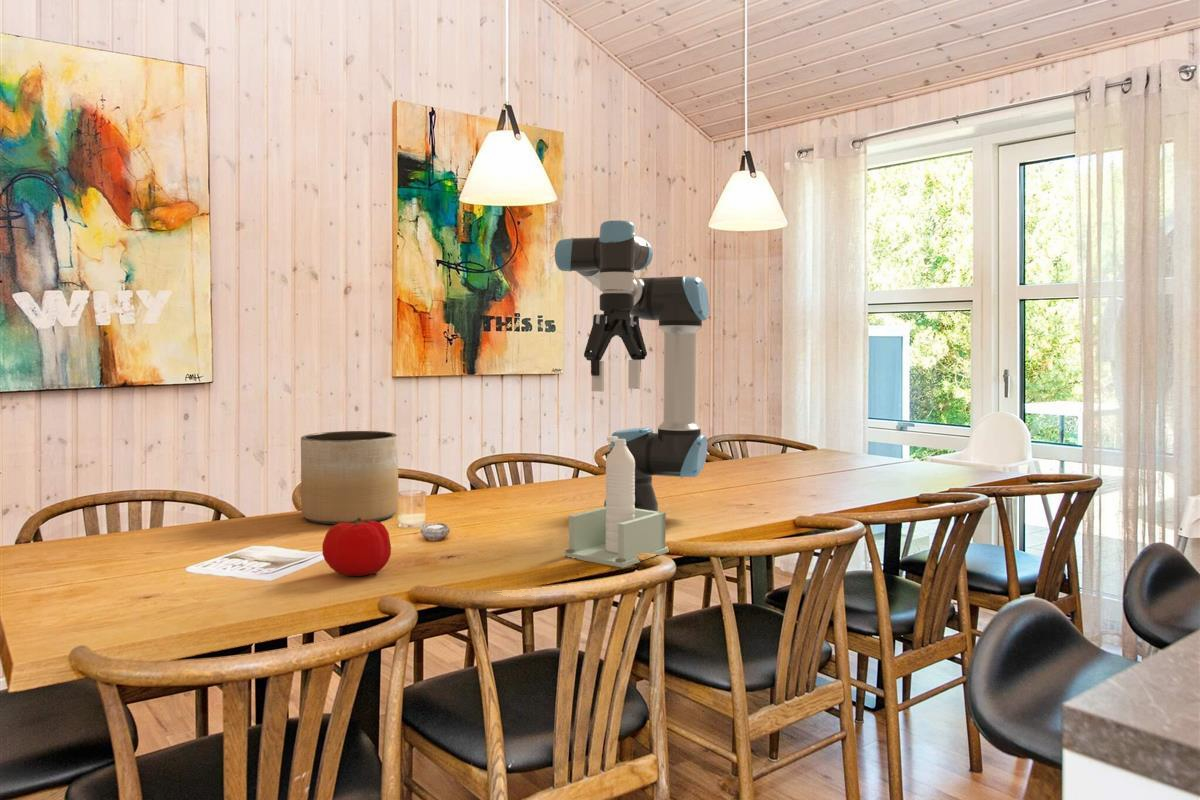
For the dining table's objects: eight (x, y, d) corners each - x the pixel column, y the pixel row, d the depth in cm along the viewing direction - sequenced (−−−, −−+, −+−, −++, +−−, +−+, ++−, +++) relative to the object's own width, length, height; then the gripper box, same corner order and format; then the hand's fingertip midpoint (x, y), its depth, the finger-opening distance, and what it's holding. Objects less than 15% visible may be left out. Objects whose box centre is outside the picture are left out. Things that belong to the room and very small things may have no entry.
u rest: (612, 541, 208) (612, 504, 207) (669, 551, 198) (669, 512, 198) (564, 556, 194) (564, 516, 193) (623, 567, 184) (623, 525, 183)
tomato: (392, 579, 175) (392, 522, 174) (322, 585, 171) (321, 526, 170) (389, 564, 187) (388, 511, 186) (323, 569, 183) (322, 514, 182)
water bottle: (639, 552, 193) (640, 439, 192) (612, 555, 191) (613, 440, 189) (622, 543, 201) (623, 435, 200) (596, 546, 199) (597, 436, 197)
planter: (413, 519, 234) (412, 436, 233) (317, 530, 220) (315, 443, 219) (379, 504, 255) (378, 428, 254) (290, 514, 241) (288, 434, 239)
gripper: (635, 295, 204) (634, 387, 205) (567, 290, 184) (567, 391, 186) (662, 294, 199) (661, 388, 201) (595, 289, 180) (595, 393, 181)
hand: (616, 390), depth 193 cm, fingers open, 13 cm apart
